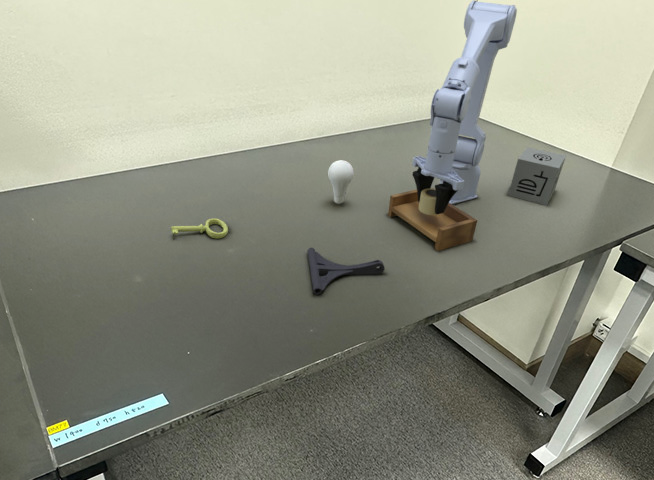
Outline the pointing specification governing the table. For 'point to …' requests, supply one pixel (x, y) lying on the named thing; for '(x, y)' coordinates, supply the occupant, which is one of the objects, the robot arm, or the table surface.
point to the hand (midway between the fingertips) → (430, 207)
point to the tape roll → (428, 201)
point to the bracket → (336, 270)
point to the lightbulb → (340, 179)
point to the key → (203, 228)
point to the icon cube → (536, 175)
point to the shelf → (434, 221)
